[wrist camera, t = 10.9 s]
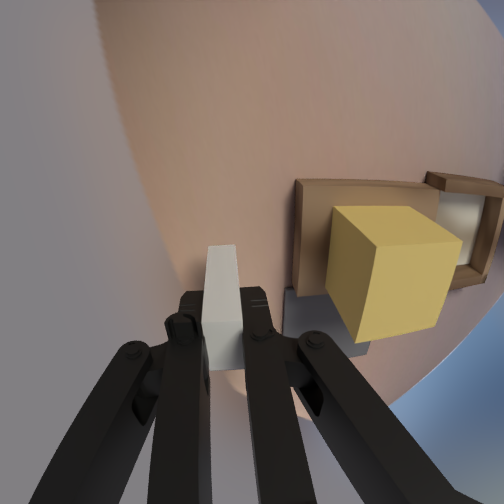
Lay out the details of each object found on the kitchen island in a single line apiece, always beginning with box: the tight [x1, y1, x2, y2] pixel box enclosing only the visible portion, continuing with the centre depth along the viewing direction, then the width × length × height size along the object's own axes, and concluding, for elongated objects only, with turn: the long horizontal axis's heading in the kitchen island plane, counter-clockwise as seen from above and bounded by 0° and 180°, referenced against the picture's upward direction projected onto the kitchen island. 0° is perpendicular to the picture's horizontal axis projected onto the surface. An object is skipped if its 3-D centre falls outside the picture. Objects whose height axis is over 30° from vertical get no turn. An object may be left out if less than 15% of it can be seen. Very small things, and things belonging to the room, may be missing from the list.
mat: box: [282, 287, 371, 358], centre depth 25 cm, size 9×9×1 cm
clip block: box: [325, 206, 463, 343], centre depth 17 cm, size 6×6×6 cm
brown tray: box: [292, 171, 504, 297], centre depth 20 cm, size 10×20×2 cm, turn 91°
